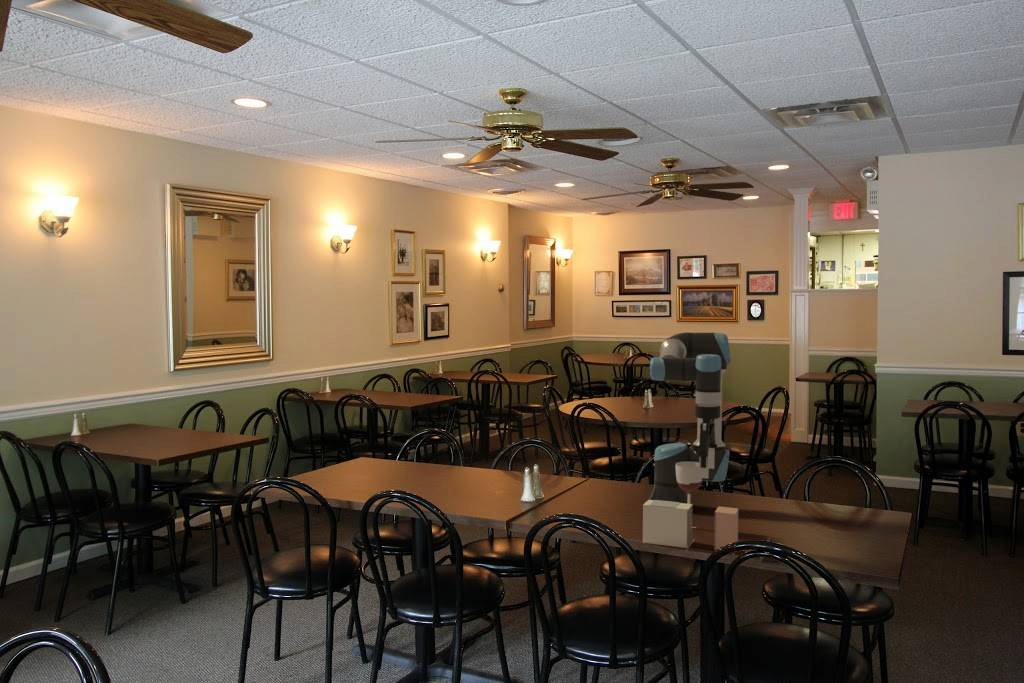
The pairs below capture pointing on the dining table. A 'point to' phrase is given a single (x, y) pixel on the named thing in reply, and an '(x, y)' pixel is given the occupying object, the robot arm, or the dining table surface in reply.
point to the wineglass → (688, 477)
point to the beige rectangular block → (667, 523)
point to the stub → (725, 526)
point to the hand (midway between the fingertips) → (706, 473)
